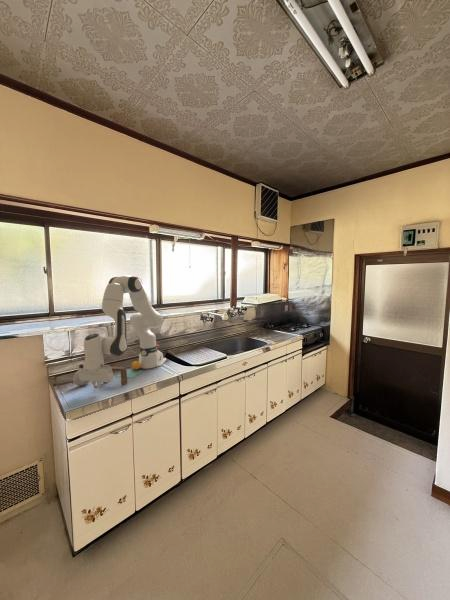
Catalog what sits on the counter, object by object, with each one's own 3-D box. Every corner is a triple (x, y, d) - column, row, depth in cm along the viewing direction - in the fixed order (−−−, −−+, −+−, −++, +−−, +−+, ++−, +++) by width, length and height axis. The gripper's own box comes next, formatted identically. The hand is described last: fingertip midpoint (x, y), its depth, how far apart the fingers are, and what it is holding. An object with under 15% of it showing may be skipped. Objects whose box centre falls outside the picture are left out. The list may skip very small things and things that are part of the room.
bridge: (106, 381, 152) (105, 366, 151) (127, 382, 148) (126, 367, 148) (103, 383, 149) (101, 367, 148) (124, 385, 146) (123, 369, 145)
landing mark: (128, 369, 171) (128, 369, 171) (144, 370, 168) (144, 370, 168) (115, 377, 159) (115, 376, 159) (133, 378, 155) (133, 377, 155)
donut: (74, 388, 143) (73, 372, 142) (72, 387, 145) (71, 370, 144) (92, 383, 150) (91, 367, 149) (91, 381, 152) (89, 366, 151)
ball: (133, 371, 172) (136, 363, 176) (140, 371, 170) (143, 363, 174) (128, 367, 167) (131, 359, 171) (136, 367, 166) (138, 359, 170)
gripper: (114, 362, 134) (117, 387, 135) (84, 361, 139) (86, 384, 140) (106, 367, 128) (109, 392, 129) (74, 365, 133) (77, 389, 134)
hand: (97, 388), depth 135 cm, fingers closed
